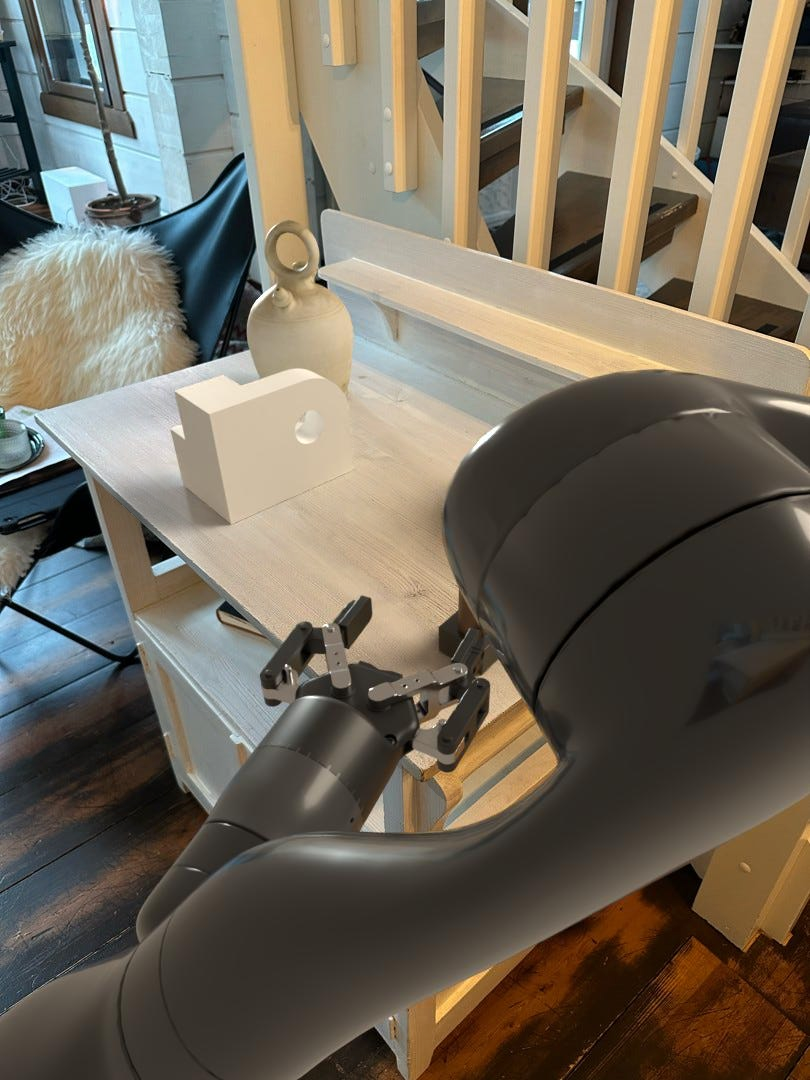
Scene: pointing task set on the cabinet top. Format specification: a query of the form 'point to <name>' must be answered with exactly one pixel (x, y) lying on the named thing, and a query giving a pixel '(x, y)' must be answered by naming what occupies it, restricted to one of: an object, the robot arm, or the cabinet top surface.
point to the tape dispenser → (261, 440)
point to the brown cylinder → (463, 634)
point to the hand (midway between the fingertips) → (420, 620)
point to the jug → (300, 318)
